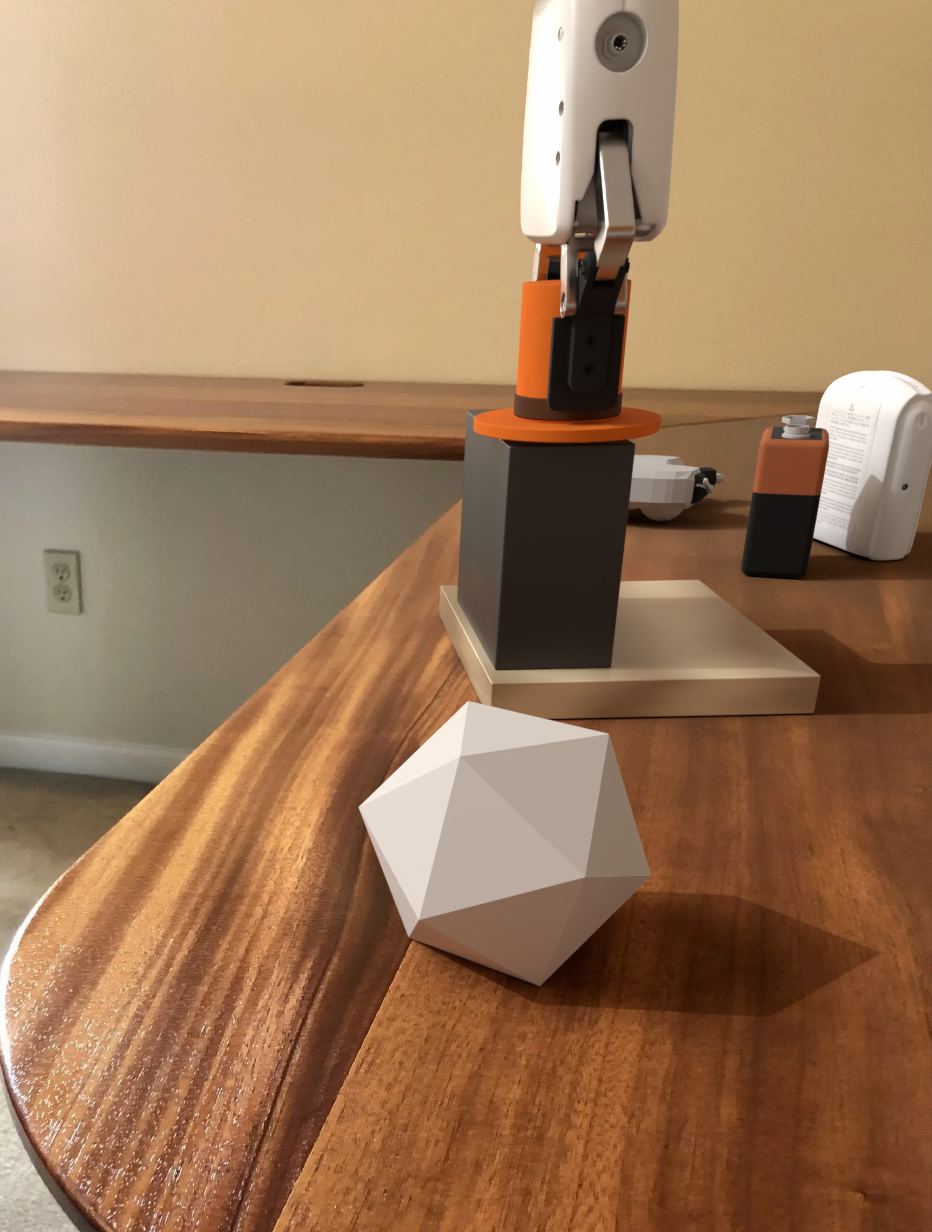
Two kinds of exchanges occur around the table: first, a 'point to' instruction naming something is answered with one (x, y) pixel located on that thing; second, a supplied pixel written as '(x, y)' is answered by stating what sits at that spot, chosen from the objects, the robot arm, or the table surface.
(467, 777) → the die
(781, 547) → the battery
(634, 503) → the robot toy
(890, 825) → the table surface
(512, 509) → the tall dark grey box
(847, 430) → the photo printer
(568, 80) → the robot arm
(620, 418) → the hat
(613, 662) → the wooden board
